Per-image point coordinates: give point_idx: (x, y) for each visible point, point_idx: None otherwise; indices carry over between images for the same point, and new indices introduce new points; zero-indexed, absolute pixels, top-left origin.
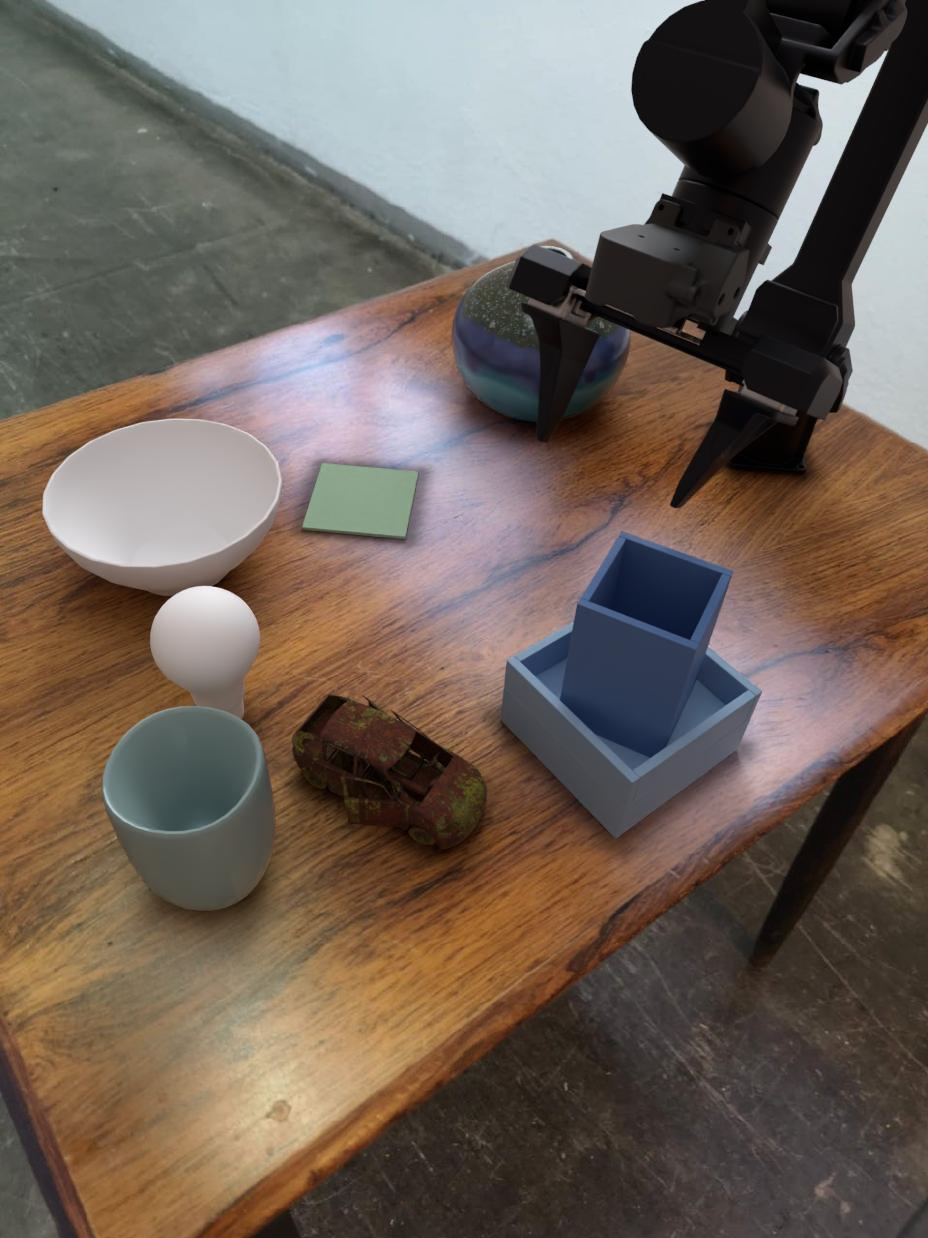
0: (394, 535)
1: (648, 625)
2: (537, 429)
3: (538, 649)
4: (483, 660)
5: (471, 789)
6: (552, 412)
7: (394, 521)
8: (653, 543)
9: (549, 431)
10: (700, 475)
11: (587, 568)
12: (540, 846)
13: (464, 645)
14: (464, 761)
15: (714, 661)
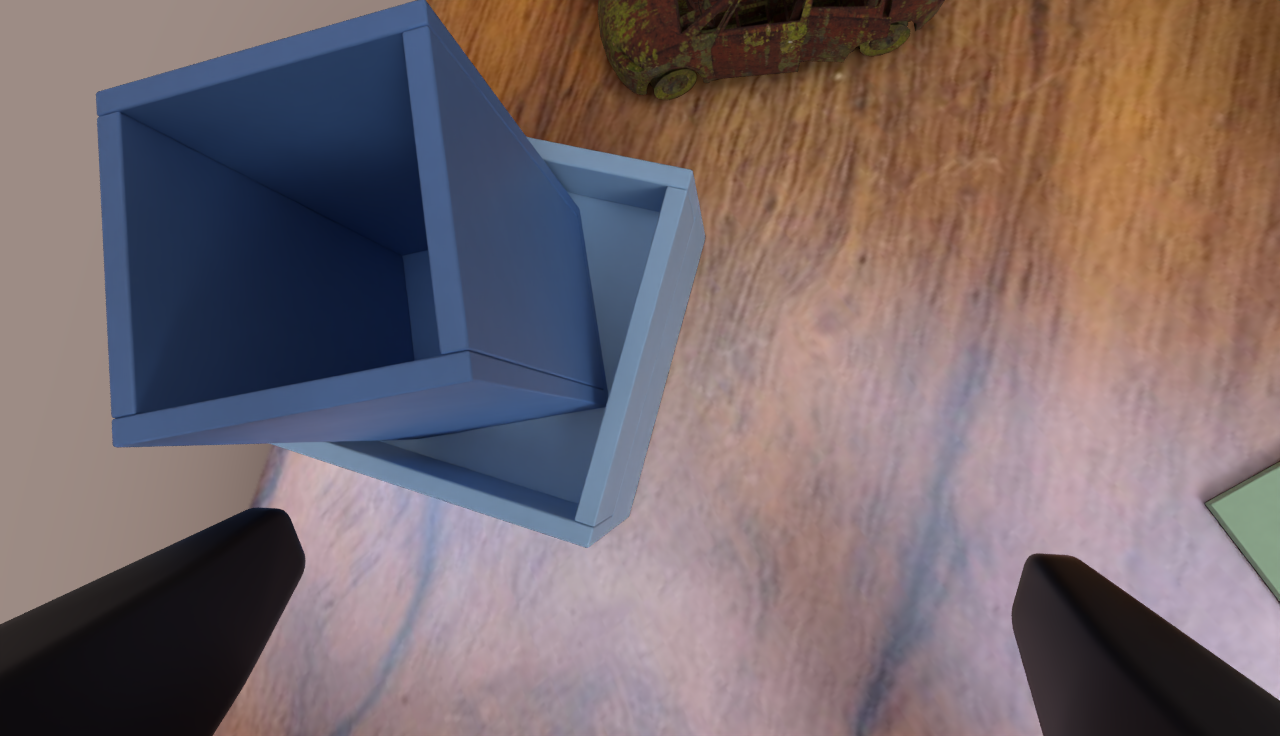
0: (1235, 490)
1: (225, 75)
2: (1109, 585)
3: (654, 236)
4: (813, 324)
5: (620, 18)
6: (1128, 712)
7: (1278, 532)
8: (357, 395)
9: (1043, 637)
10: (25, 616)
11: (799, 679)
12: (527, 101)
13: (867, 331)
14: (661, 47)
15: (354, 451)
